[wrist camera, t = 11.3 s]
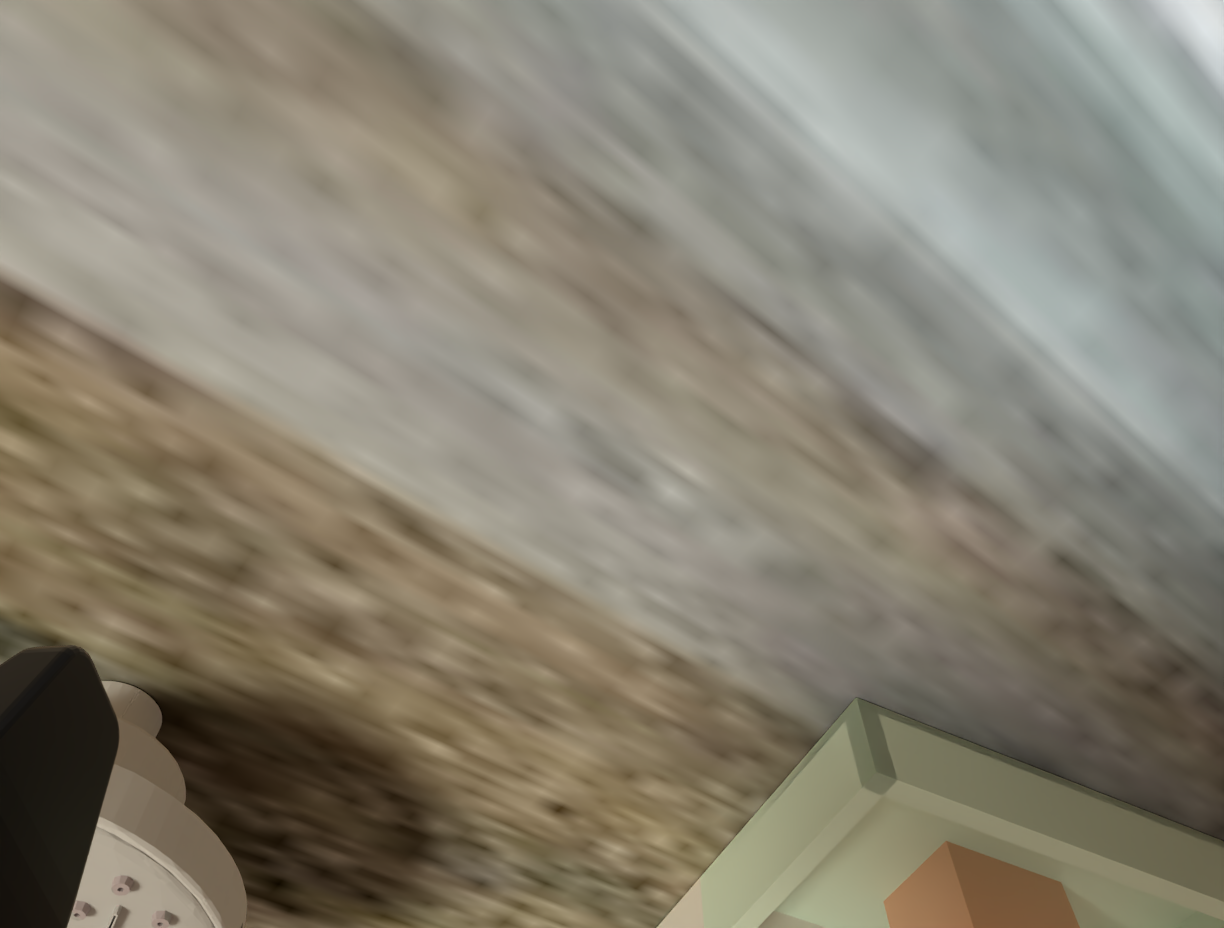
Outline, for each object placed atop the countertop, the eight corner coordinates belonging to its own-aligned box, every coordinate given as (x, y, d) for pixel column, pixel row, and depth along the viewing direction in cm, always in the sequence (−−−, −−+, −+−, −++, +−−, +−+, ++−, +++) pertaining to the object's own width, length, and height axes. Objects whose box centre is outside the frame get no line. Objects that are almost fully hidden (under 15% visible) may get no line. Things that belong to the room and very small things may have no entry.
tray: (856, 697, 26) (876, 772, 24) (1270, 859, 30) (1318, 937, 28) (700, 877, 30) (706, 955, 28) (1082, 1003, 33) (1113, 1080, 31)
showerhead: (-356, 763, 17) (254, 897, 19) (-101, 509, 23) (342, 629, 25) (-306, 1054, 22) (179, 1139, 24) (-104, 779, 28) (269, 864, 30)
